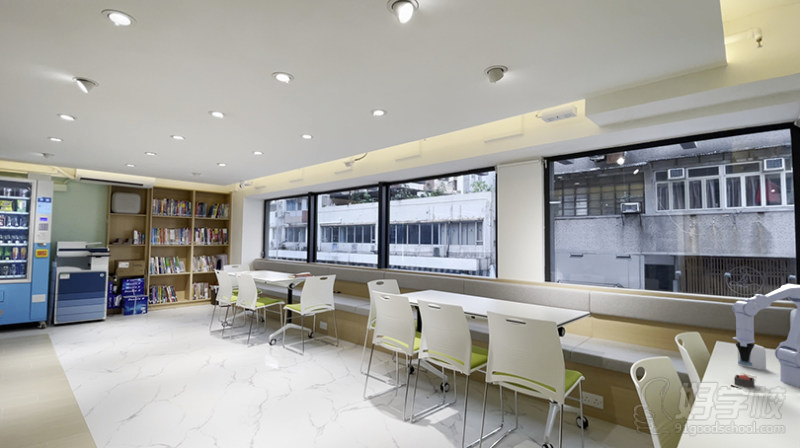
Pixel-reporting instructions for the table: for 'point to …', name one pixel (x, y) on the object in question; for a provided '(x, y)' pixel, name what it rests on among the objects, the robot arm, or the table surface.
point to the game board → (745, 382)
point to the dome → (744, 377)
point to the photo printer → (757, 357)
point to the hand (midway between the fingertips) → (745, 360)
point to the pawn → (745, 362)
